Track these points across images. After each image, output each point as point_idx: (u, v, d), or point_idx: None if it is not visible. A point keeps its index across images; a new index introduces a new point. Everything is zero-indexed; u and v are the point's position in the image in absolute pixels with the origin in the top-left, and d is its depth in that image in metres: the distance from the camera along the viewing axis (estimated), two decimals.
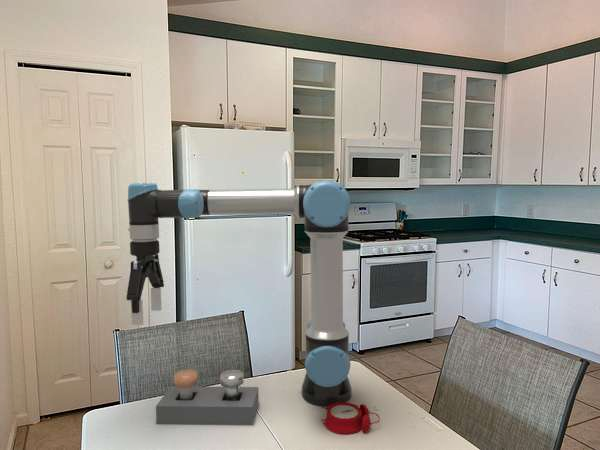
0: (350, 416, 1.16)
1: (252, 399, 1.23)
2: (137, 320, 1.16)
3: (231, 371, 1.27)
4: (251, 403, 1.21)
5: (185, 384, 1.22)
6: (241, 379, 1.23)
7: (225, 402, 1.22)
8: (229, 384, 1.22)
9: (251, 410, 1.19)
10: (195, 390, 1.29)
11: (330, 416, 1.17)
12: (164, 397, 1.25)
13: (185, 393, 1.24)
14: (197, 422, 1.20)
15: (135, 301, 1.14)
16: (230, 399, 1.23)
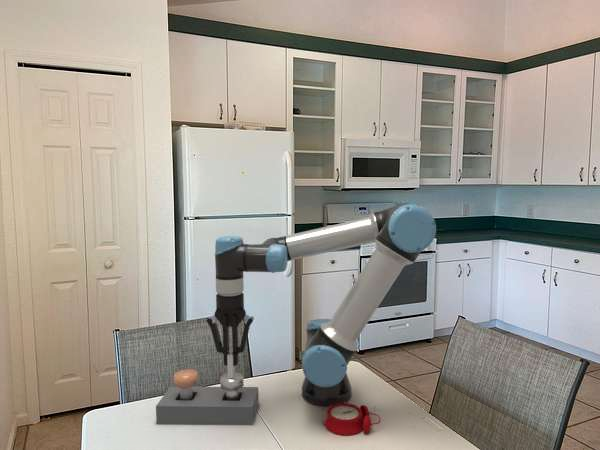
0: (351, 417, 1.16)
1: (252, 399, 1.23)
2: None
3: None
4: (251, 403, 1.21)
5: (185, 384, 1.22)
6: (241, 382, 1.23)
7: (225, 402, 1.22)
8: (229, 387, 1.22)
9: (251, 410, 1.19)
10: (195, 390, 1.29)
11: (331, 417, 1.16)
12: (164, 397, 1.25)
13: (185, 393, 1.24)
14: (197, 422, 1.20)
15: None
16: None
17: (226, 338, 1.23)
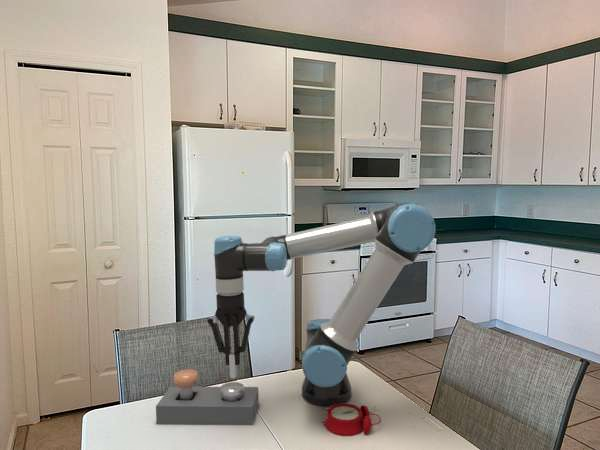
0: (351, 418, 1.16)
1: (252, 399, 1.23)
2: None
3: (231, 384, 1.27)
4: (251, 403, 1.21)
5: (185, 384, 1.22)
6: (241, 392, 1.24)
7: (225, 402, 1.22)
8: (229, 397, 1.22)
9: (251, 410, 1.19)
10: (195, 390, 1.29)
11: (331, 417, 1.16)
12: (164, 397, 1.25)
13: (185, 393, 1.24)
14: (197, 422, 1.20)
15: None
16: None
17: (227, 338, 1.23)
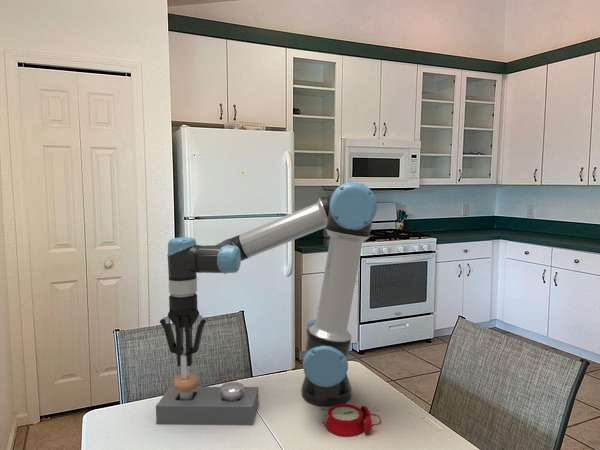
0: (352, 418, 1.15)
1: (252, 399, 1.23)
2: None
3: (231, 384, 1.27)
4: (251, 403, 1.21)
5: (185, 388, 1.22)
6: (241, 392, 1.24)
7: (225, 402, 1.22)
8: (229, 397, 1.22)
9: (251, 410, 1.19)
10: (195, 390, 1.29)
11: (331, 418, 1.16)
12: (164, 397, 1.25)
13: (186, 397, 1.24)
14: (197, 422, 1.20)
15: None
16: None
17: (179, 339, 1.23)
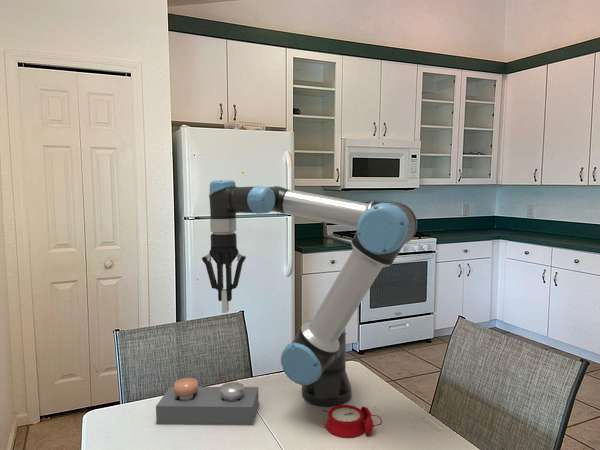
0: (353, 419, 1.15)
1: (252, 399, 1.23)
2: None
3: (231, 384, 1.27)
4: (251, 403, 1.21)
5: (185, 393, 1.22)
6: (241, 392, 1.24)
7: (225, 402, 1.22)
8: (229, 397, 1.22)
9: (251, 410, 1.19)
10: None
11: (332, 419, 1.15)
12: (164, 397, 1.25)
13: None
14: (197, 422, 1.20)
15: None
16: None
17: (220, 275, 1.32)
